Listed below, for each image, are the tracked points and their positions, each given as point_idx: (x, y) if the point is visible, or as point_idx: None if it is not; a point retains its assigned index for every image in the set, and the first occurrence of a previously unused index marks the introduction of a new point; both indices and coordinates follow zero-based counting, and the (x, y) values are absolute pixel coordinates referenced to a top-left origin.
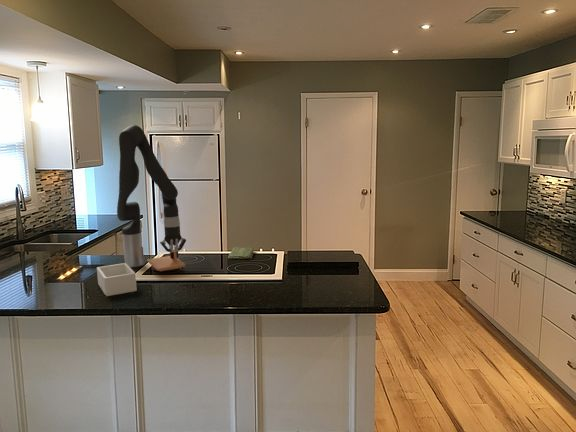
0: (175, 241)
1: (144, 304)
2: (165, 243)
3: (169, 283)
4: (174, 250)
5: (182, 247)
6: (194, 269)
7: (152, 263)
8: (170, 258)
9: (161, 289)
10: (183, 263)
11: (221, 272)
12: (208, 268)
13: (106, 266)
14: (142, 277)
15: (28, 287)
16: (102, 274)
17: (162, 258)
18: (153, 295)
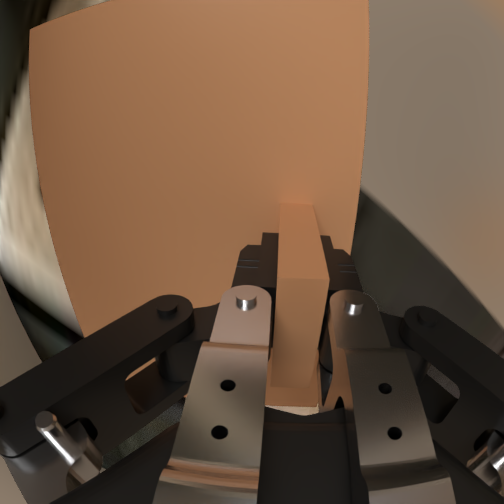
0: None
1: (106, 462)
2: (95, 466)
3: (181, 413)
4: (307, 340)
5: (434, 396)
6: (412, 292)
7: (55, 234)
8: (277, 127)
9: (145, 434)
10: (314, 390)
11: (455, 397)
12: (476, 318)
13: None
14: (45, 257)
15: None
16: None
17: (177, 62)
18: (122, 446)
